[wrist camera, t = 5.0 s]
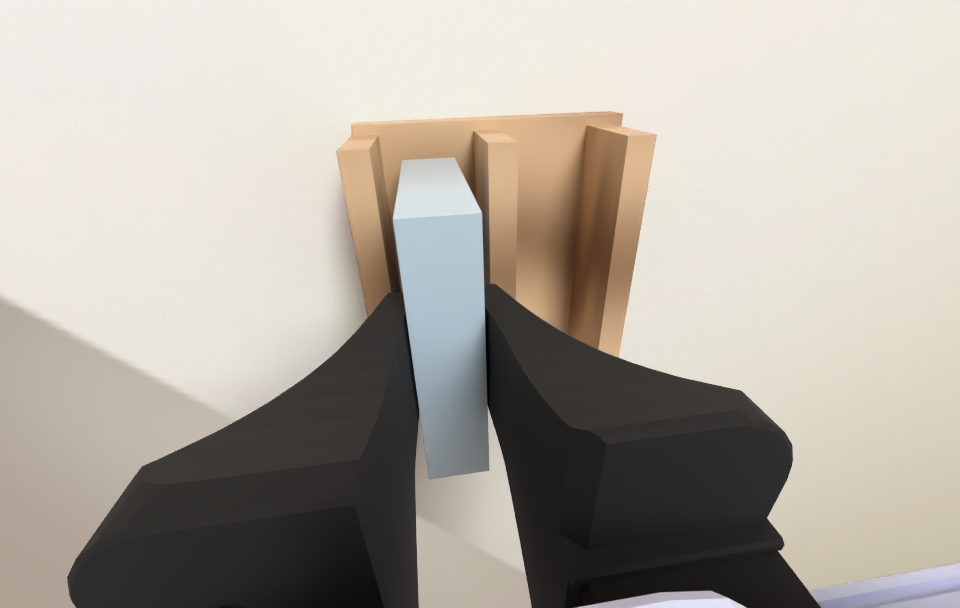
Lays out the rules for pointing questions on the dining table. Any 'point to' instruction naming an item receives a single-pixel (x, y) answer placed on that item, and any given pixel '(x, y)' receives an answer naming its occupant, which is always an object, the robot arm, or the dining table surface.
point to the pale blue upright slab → (445, 311)
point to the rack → (518, 208)
